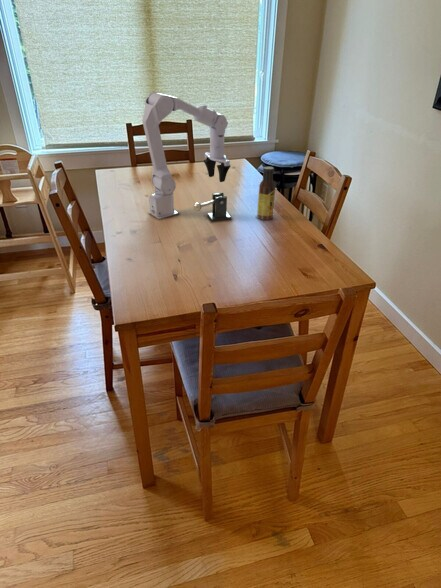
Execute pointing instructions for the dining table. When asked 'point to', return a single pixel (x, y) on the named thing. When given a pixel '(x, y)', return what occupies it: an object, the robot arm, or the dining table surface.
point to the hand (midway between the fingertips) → (216, 179)
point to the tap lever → (204, 204)
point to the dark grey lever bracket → (219, 208)
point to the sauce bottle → (266, 195)
